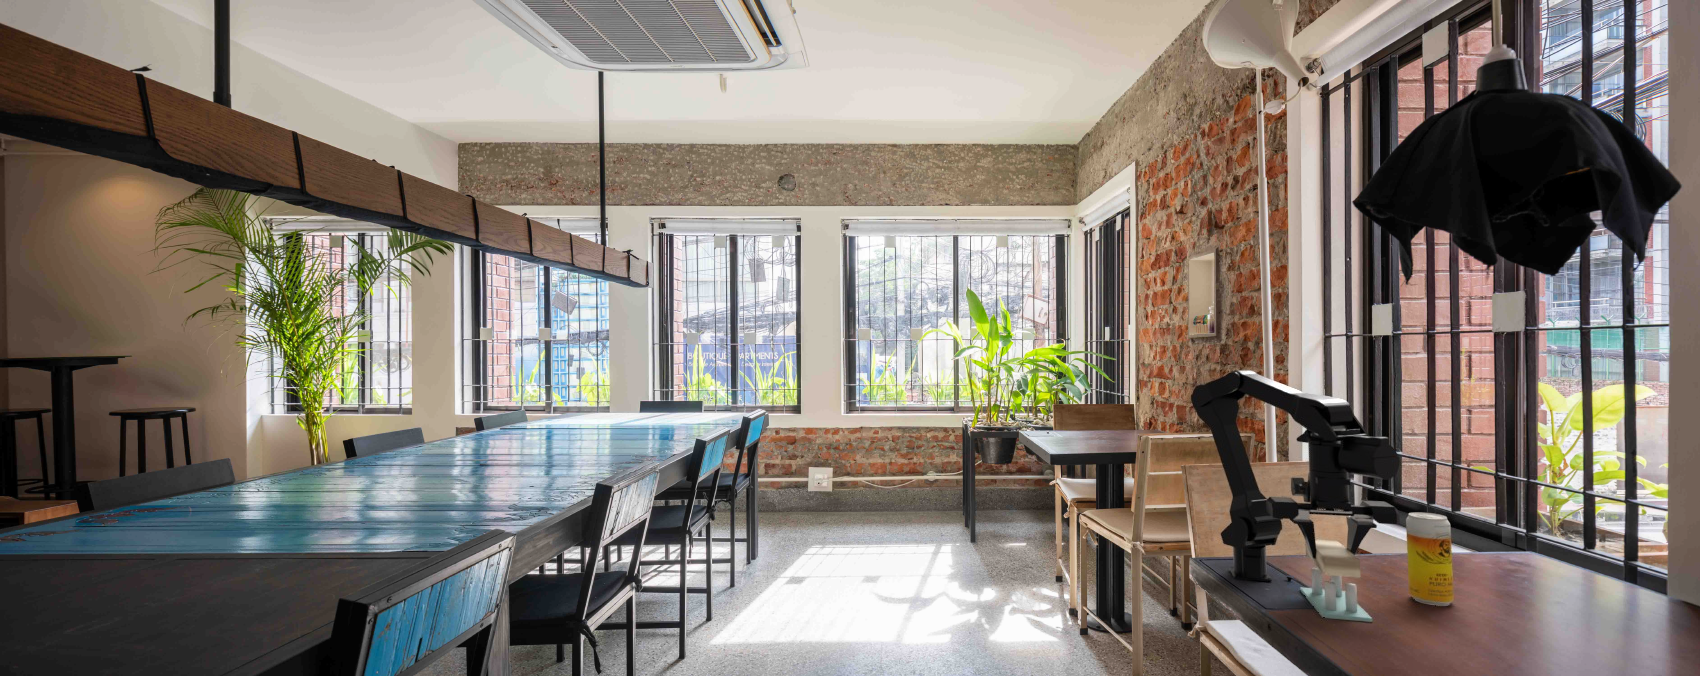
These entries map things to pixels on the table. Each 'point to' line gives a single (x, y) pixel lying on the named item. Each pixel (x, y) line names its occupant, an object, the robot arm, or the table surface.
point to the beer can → (1429, 558)
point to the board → (1335, 559)
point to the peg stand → (1334, 598)
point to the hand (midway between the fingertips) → (1331, 559)
